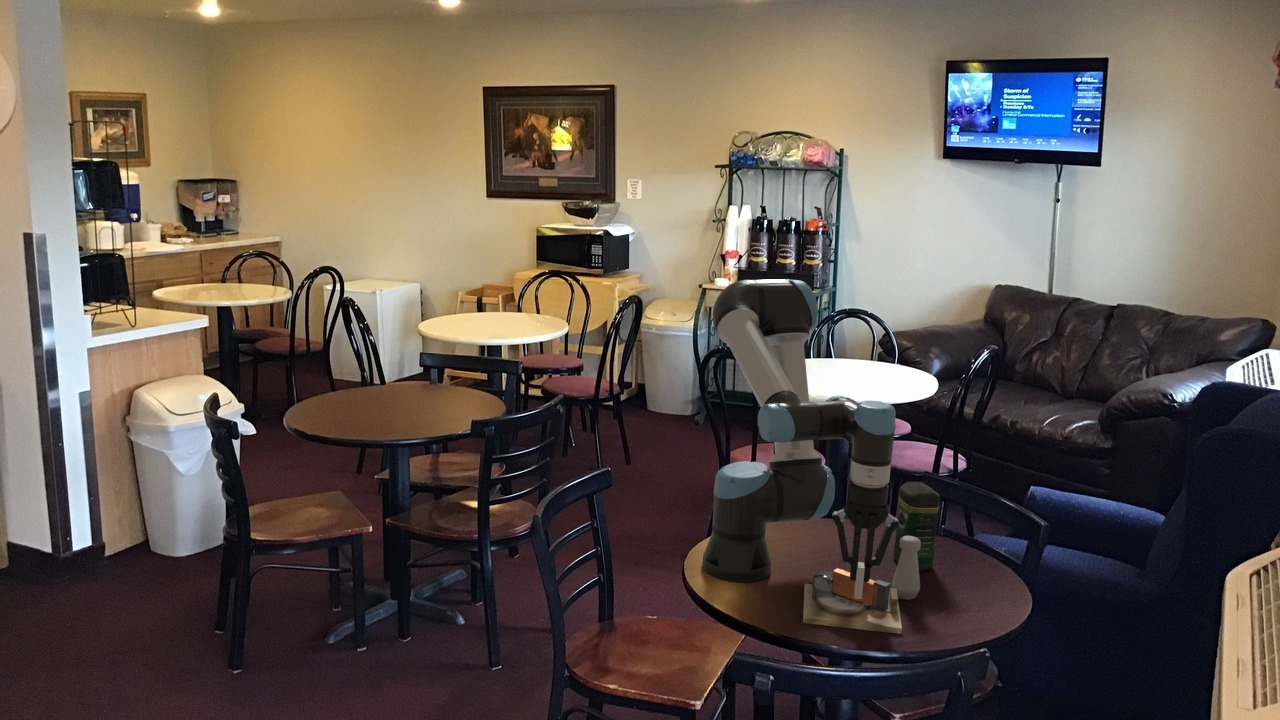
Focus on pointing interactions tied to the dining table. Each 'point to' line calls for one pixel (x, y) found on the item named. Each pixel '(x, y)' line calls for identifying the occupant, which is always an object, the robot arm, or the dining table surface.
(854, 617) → the stand
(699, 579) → the dining table surface
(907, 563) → the salt shaker
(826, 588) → the grey round-based piece
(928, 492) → the coffee jar
